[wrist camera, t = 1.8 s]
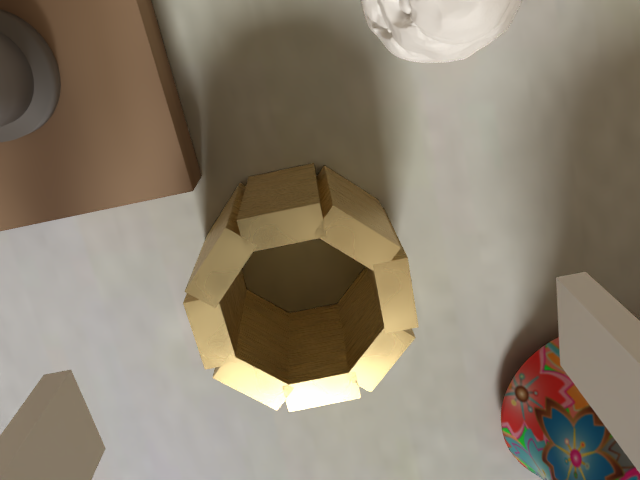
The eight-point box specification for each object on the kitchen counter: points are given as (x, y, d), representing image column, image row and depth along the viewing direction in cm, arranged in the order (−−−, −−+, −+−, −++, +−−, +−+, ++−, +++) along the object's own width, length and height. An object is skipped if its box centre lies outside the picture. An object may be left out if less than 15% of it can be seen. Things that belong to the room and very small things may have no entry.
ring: (236, 346, 24) (223, 424, 20) (189, 189, 22) (160, 235, 17) (401, 313, 24) (427, 385, 19) (373, 150, 21) (396, 187, 17)
